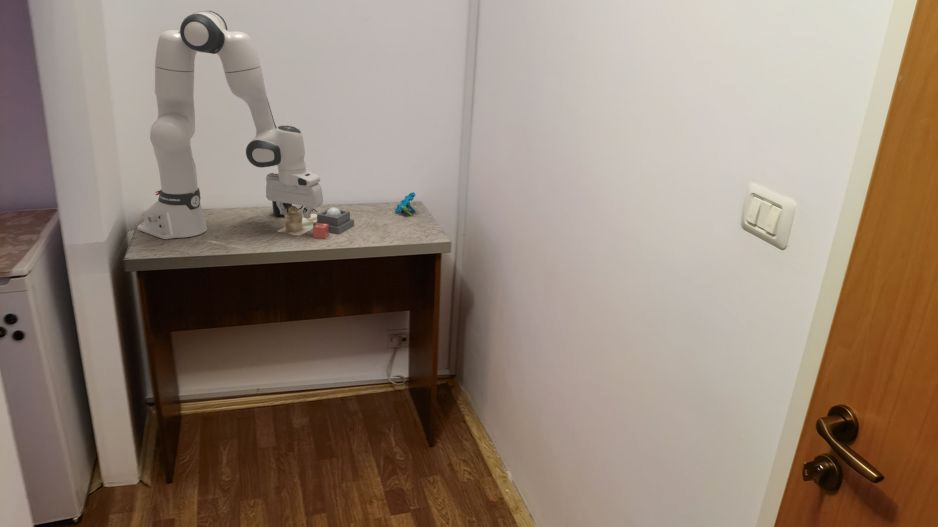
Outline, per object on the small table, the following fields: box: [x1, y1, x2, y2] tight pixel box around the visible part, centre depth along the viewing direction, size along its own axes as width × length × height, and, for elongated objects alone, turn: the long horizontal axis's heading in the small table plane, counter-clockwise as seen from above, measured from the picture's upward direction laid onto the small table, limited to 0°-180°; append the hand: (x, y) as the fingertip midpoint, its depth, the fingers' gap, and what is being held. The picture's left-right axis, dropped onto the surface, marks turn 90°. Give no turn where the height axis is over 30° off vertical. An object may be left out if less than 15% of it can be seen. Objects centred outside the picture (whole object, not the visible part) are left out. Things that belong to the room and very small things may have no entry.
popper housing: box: [313, 207, 355, 235], centre depth 244 cm, size 10×10×6 cm
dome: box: [326, 206, 341, 217], centre depth 243 cm, size 5×5×5 cm
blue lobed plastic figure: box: [394, 191, 417, 217], centre depth 265 cm, size 11×6×10 cm
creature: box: [297, 206, 318, 213], centre depth 259 cm, size 8×5×8 cm
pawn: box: [284, 205, 303, 233], centre depth 239 cm, size 4×4×8 cm
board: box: [277, 213, 317, 237], centre depth 245 cm, size 20×21×1 cm
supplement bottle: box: [271, 201, 293, 218], centre depth 253 cm, size 7×7×12 cm
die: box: [312, 223, 330, 240], centre depth 235 cm, size 4×4×4 cm
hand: (295, 216), depth 238 cm, fingers open, 8 cm apart
